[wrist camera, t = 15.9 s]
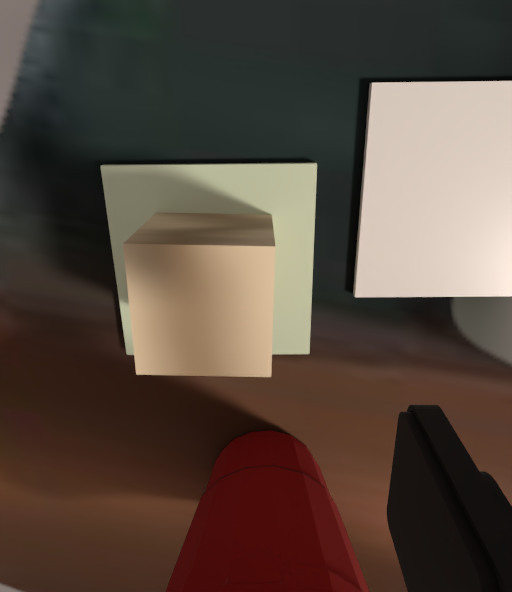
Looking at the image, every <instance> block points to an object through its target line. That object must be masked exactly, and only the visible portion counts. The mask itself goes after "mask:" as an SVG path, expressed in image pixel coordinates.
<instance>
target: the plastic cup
mask: <svg viewBox="0 0 512 592" xmlns="http://www.w3.org/2000/svg"><path fill="white" fill-rule="evenodd" d="M166 592H369V589H368V587H367V584H366V581H365V579H364V576H363V574H362V571H361V568H360V566H359V563H358V561H357V558H356V555H355V553H354V550H353V548H352V545H351V542H350V540H349V537H348V535H347V532H346V529H345V527H344V524H343V521H342V519H341V516H340V514H339V511H338V508H337V506H336V504H335V502H334V501H333V499H332V498H331V496H330V493H329V491H328V488H327V486H326V483H325V480H324V478H323V475H322V473H321V470H320V467H319V466H318V464H317V463H316V461H315V459H314V458H313V456H312V454H311V453H310V452H309V450H308V448H307V447H306V445H304V444H303V443H301V442H300V441H298V440H297V439H296V438H294V437H293V436H291V435H288V434H284V433H280V432H276V431H272V430H268V431H255V432H249V433H247V434H245V435H242V436H240V437H238V438H235V439H233V440H232V441H231V442H230V443H229V444H228V445H227V446H226V447H225V448H224V449H223V450H222V451H221V453H220V456H219V457H218V458H217V459H216V462H215V465H214V468H213V471H212V473H211V476H210V479H209V482H208V485H207V488H206V491H205V493H204V494H203V495H202V496H201V499H200V502H199V504H198V507H197V510H196V512H195V515H194V518H193V520H192V523H191V526H190V528H189V531H188V534H187V536H186V539H185V542H184V544H183V547H182V549H181V552H180V555H179V557H178V560H177V563H176V565H175V568H174V571H173V573H172V576H171V579H170V581H169V584H168V587H167V589H166Z"/></svg>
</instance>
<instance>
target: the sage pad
mask: <svg viewBox="0 0 512 592" xmlns="http://www.w3.org/2000/svg"><path fill="white" fill-rule="evenodd" d="M100 167H101V174H102V181H103V188H104V195H105V203H106V210H107V217H108V224H109V232H110V239H111V246H112V253H113V260H114V268H115V275H116V282H117V289H118V296H119V304H120V311H121V318H122V325H123V332H124V340H125V347H126V354H127V355H134V348H133V338H132V328H131V318H130V308H129V298H128V288H127V278H126V268H125V258H124V249H123V243H124V242H125V241H126V240H127V239H129V238H130V237H131V236H132V235H133V234H134V233H135V232H136V231H137V230H138V229H139V228H140V227H141V226H142V225H143V224H144V223H146V222H147V221H148V220H149V219H150V218H151V217H152V216H153V215H154V214H155V213H211V214H267V215H272V221H273V229H274V237H275V246H276V249H275V279H274V308H273V337H272V354H309V351H310V326H311V301H312V276H313V252H314V227H315V202H316V178H317V163H225V164H124V165H101V166H100Z"/></svg>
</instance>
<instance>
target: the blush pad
mask: <svg viewBox="0 0 512 592" xmlns="http://www.w3.org/2000/svg"><path fill="white" fill-rule="evenodd" d="M353 295H354V297H460V296H461V297H463V296H464V297H465V296H466V297H469V296H470V297H471V296H512V81H464V82H380V83H370V85H369V98H368V110H367V123H366V136H365V149H364V161H363V174H362V187H361V199H360V212H359V225H358V238H357V250H356V263H355V276H354V288H353Z"/></svg>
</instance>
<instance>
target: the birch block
mask: <svg viewBox="0 0 512 592" xmlns="http://www.w3.org/2000/svg"><path fill="white" fill-rule="evenodd" d="M123 249H124V258H125V268H126V278H127V288H128V298H129V308H130V318H131V328H132V338H133V348H134V358H135V368H136V375H185V376H240V377H271V366H272V337H273V308H274V279H275V249H276V246H275V237H274V229H273V221H272V215H267V214H211V213H155V214H154V215H153V216H152V217H151V218H150V219H149V220H148V221H147V222H146V223H144V224H143V225H142V226H141V227H140V228H139V229H138V230H137V231H136V232H135V233H134V234H133V235H132V236H131V237H130V238H129V239H127V240H126V241H125V242H124V243H123Z"/></svg>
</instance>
